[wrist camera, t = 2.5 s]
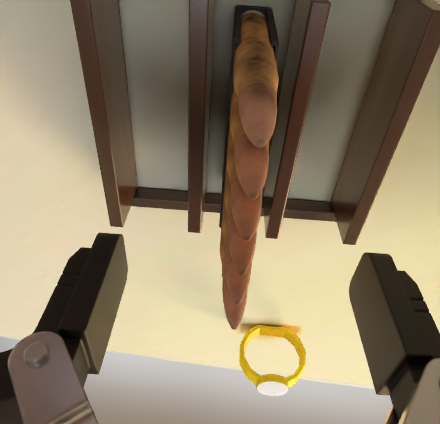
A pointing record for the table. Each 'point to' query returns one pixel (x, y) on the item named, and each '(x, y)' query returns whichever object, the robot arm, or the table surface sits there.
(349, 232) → the slotted rack
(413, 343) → the robot arm
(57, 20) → the table surface
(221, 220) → the ammunition clip
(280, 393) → the watch
